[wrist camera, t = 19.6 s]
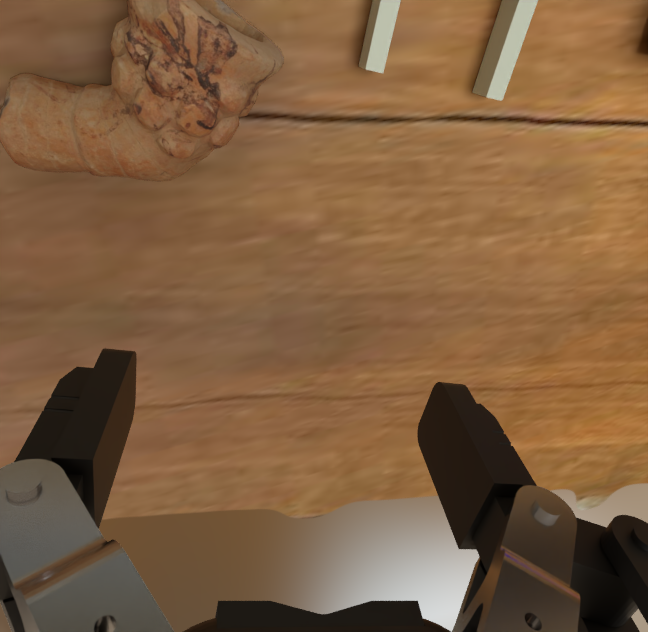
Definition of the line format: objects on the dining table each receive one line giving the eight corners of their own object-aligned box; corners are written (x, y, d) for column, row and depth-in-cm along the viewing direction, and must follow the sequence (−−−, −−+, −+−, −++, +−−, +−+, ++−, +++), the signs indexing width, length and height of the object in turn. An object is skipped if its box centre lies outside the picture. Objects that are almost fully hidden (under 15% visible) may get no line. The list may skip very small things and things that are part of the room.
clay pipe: (267, 150, 45) (288, -42, 34) (269, 223, 38) (297, 10, 28) (45, 124, 42) (-10, -102, 31) (3, 198, 35) (-88, -60, 24)
